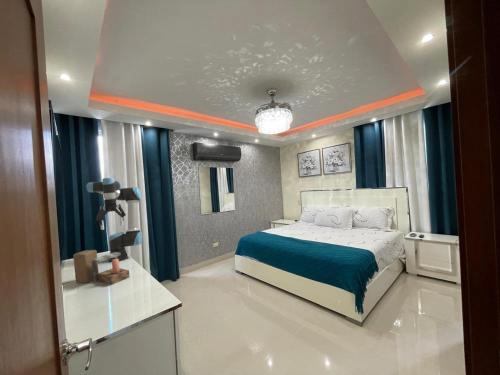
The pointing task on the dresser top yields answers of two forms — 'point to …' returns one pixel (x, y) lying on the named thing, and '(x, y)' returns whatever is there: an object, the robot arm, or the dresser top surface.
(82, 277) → the wooden block
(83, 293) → the dresser top surface
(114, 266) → the peg
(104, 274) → the socket station
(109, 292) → the dresser top surface
